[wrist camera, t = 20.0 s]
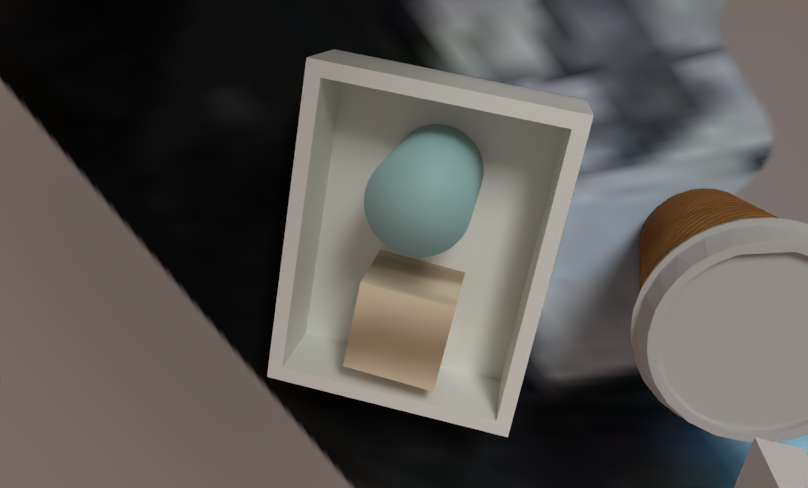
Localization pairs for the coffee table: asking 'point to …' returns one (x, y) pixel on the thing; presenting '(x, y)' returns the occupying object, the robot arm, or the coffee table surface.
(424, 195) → the teal capsule
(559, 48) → the coffee table surface
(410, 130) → the tote
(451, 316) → the beech cube
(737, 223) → the disposable coffee cup
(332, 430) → the coffee table surface
